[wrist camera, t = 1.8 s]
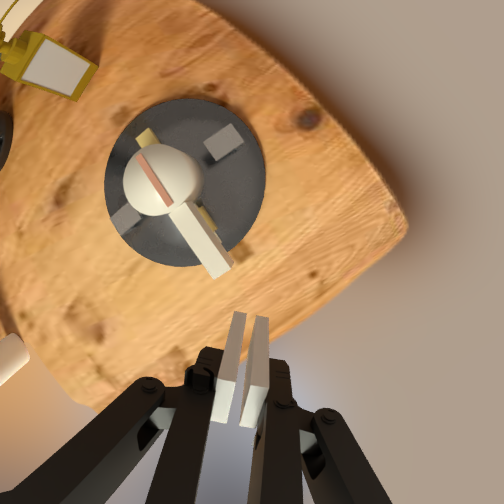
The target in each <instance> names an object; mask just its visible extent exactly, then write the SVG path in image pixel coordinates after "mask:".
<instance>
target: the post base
mask: <svg viewBox="0 0 504 504" xmlns="http://www.w3.org/2000/svg"><path fill="white" fill-rule="evenodd" d="M147 128H150V129H152V131H153V132H154V134H155V135H156V137H157V138H158V140H159V141H160V143H161V144H164V145H168V146H170V147H173V148H175V149H177V150H180V151H182V152H184V153H186V154H189V155H191V156H192V157H194V158H195V159H196V160H197V161H198V162H199V164H200V165H201V167H202V170H203V173H204V187H203V190H202V193H201V195H200V197H199V198H198V199H197V201H196V202H195V203H194V205H195V206H196V208H197V209H198V208H200V207H201V206H203V207H204V208H205V210H206V211H207V212H208V214H209V215H210V217H211V218H212V220H213V221H214V223H215V224H216V226H217V227H218V229H217V230H215V231H214V232H213V233H214V234H215V235H216V237H217V238H218V240H219V241H220V243H221V244H222V246H223V247H224V248H225V250H226V251H227V252H228V251H229V250H231V249H232V248H233V247H235V246H236V245H237V244H238V243H239V242H240V241H241V240H242V239H243V238H244V236H245V235H246V234H247V232H248V231H249V230H250V228H251V227H252V225H253V223H254V222H255V220H256V218H257V215H258V213H259V211H260V208H261V205H262V201H263V197H264V190H265V168H264V161H263V157H262V154H261V150H260V148H259V146H258V143H257V141H256V139H255V138H254V136H253V134H252V133H251V131H250V130H249V128H248V127H247V126H246V125H245V124H244V123H243V121H242V120H240V119H239V118H238V117H237V116H236V115H235V114H233V113H232V112H230V111H229V110H227V109H226V108H224V107H222V106H220V105H217V104H215V103H212V102H209V101H205V100H199V99H177V100H171V101H168V102H164V103H161V104H159V105H156V106H154V107H152V108H150V109H148V110H147V111H145V112H143V113H142V114H141V115H139V116H138V117H137V118H135V119H134V120H133V121H132V122H131V123H130V124H129V125H128V126H127V127H126V128H125V130H124V131H123V132H122V133H121V135H120V136H119V138H118V139H117V141H116V143H115V145H114V147H113V149H112V151H111V153H110V156H109V159H108V162H107V167H106V171H105V180H104V192H105V200H106V205H107V209H108V213H109V215H110V220H111V221H112V223H113V225H114V226H115V228H116V230H117V231H118V233H119V234H120V236H121V237H122V238H123V239H124V241H125V242H126V243H127V244H128V245H129V246H130V247H131V248H133V249H134V250H135V251H136V252H137V253H139V254H141V255H142V256H144V257H145V258H147V259H150V260H152V261H154V262H157V263H160V264H164V265H169V266H175V267H187V266H196V265H200V264H202V263H201V261H200V260H199V258H198V257H197V256H196V254H195V253H194V251H193V250H192V249H191V247H190V246H189V244H188V243H187V241H186V240H185V238H184V237H183V236H182V234H181V233H180V231H179V230H178V228H177V227H176V225H175V224H174V222H173V221H172V219H171V218H170V216H169V215H168V214H170V213H167V214H163V215H158V216H150V215H145V214H143V213H140V212H139V211H137V210H136V209H135V208H134V207H133V206H132V205H131V204H130V203H129V201H128V199H127V198H126V195H125V192H124V187H123V177H124V172H125V169H126V166H127V164H128V162H129V160H130V159H131V158H132V156H133V155H134V154H135V153H136V152H137V151H139V150H140V149H142V148H141V147H140V145H139V143H138V142H137V140H136V139H135V138H137V137H138V136H139V135H140V134H141V133H142V132H144V131H145V130H146V129H147Z"/></svg>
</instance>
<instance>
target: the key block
mask: <svg viewBox="0 0 504 504" xmlns="http://www.w3.org/2000/svg"><path fill="white" fill-rule="evenodd" d="M135 139H136V140H137V142H138V143H139V145H140V147H141V148H142V149H140V150H139V151H137V152H136V153H135V154H134V155H133V156H132V158H131V159H130V160H129V162H128V164H127V166H126V169H125V172H124V177H123V187H124V192H125V195H126V198H127V199H128V201H129V203H130V204H131V205H132V206H133V207H134V208H135V209H136V210H137V211H139V212H140V213H143V214H145V215H150V216H158V215H163V214H167V213H170V214H168V215H169V216H170V218H171V219H172V221H173V222H174V224H175V225H176V227H177V228H178V230H179V231H180V233H181V234H182V236H183V237H184V238H185V240H186V241H187V243H188V244H189V246H190V247H191V249H192V250H193V251H194V253H195V254H196V256H197V257H198V258H199V260H200V261H201V263H202V264H203V266H204V267H205V268H206V270H207V271H208V273H209V274H210V275H211V277H212V278H213V279H216V278H218V277H219V276H221V275H222V274H224V273H225V272H227V271H228V270H230V269H231V268H232V265H233V263H234V261H233V260H232V258H231V257H230V256H229V254H228V253H227V251H226V250H225V248H224V247H223V246H222V244H221V243H220V241H219V240H218V238H217V237H216V235H215V234H214V233H213V232H214V231H215V230H217V229H218V227H217V226H216V224H215V223H214V221H213V220H212V218H211V217H210V215H209V214H208V212H207V211H206V210H205V208H204V207H203V206H201V207H200V208H198V209H197V208H196V206H195V205H194V203H195V202H196V201H197V199H198V198H199V197H200V195H201V193H202V190H203V187H204V173H203V170H202V167H201V165H200V164H199V162H198V161H197V160H196V159H195V158H194V157H192V156H191V155H189V154H186V153H184V152H182V151H180V150H177V149H175V148H173V147H170V146H168V145H164V144H161V143H160V141H159V140H158V138H157V137H156V135H155V134H154V132H153V131H152V129H150V128H147V129H146V130H145V131H144V132H142V133H141V134H140V135H139V136H138V137H137V138H135Z"/></svg>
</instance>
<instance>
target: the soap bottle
mask: <svg viewBox="0 0 504 504" xmlns="http://www.w3.org/2000/svg"><path fill="white" fill-rule="evenodd" d="M17 2H18V0H15V2H14V3H13V4H12V5H11V6H10V8H9V9H8V10H7V11H6V13H5V14H4V16H3V17H2V19H1V20H0V53H2V54H1V61H3V62H5V63H4V65H3V67H2V68H1V70H0V73H2V74H4V75H5V76H7V77H9V78H11V79H13V80H14V81H17V82H20V83H23V84H26V85H29V86H33V87H36V88H39V89H42V90H44V91H47V92H50V93H53V94H56V95H59V96H62V97H64V98H67V99H70V100H72V101H75V102H77V101H78V99H79V97H80V96H81V94H82V92H83V91H84V89H85V87H86V86H87V84H88V83H89V81H90V80H91V78H92V76H93V75H94V73H95V72H96V70H97V69H98V66H97V65H95V64H94V63H92V62H91V61H89V60H87V59H86V58H84V57H82V56H81V55H79V54H78V53H76V52H74V51H73V50H71V49H69V48H67V47H66V46H64V45H62V44H61V43H59V42H57V41H55V40H54V39H52V38H50V37H48V36H47V35H45V34H42V33H37V32H32V31H27V30H24V32H23V33H22V35H21V36H20V38H19V39H17V38H13V39H11V40H10V41H9V42H5V41H3V40H4V38H5V32H3V31H2V27H3V26H2V24H1V23H2V21H3V20H4V18H5V17H6V15H7V14H8V13H9V11H10V10H11V9H12V7H13V6H14V5H15V4H16V3H17Z"/></svg>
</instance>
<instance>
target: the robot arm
mask: <svg viewBox="0 0 504 504" xmlns="http://www.w3.org/2000/svg"><path fill="white" fill-rule="evenodd" d="M1 54H2V53H0V60H1ZM12 132H13V125H12V119H11V116H10V114H9V113H8V112H6V111H0V171H1V169H2V167H3V166H4V164H5V162H6V159H7V156H8V153H9V150H10V146H11V141H12ZM246 315H247V313H242V312H237V311H234V314H233V318H232V322H231V326H230V330H229V334H228V338H227V342H226V346H225V350H221V349H216V348H212V347H207V346H206V347H205V348H203V349H202V350H201V351H200V353H199V356H198V358H197V361H196V363H195V365H192V366H190V367H188V368H187V369H186V370H185V379H184V385H182V386H178V387H165V386H164V384H163V383H162V382H161V381H160V380H158V379H156V378H153V377H142V378H139V379H137V380H136V381H135V382H134V383H133V384H131V385H130V386H129V387H128V388H127V389H126V390H125V391H124V392H123V393H122V394H121V395H119V396H118V397H117V398H116V399H115V400H114V401H113V402H112V403H111V404H109V405H108V406H107V407H106V408H105V409H104V410H103V411H102V412H101V413H100V414H98V415H97V416H96V417H95V418H94V419H93V420H92V421H91V422H89V423H88V424H87V425H86V426H85V427H84V428H83V429H82V430H81V431H79V432H78V433H77V434H76V435H75V436H74V437H73V438H72V439H70V440H69V441H68V442H67V443H66V444H65V445H64V446H62V447H61V448H60V449H59V450H58V451H57V452H56V453H54V454H53V455H52V456H51V457H50V458H49V459H48V460H47V461H45V462H44V463H43V464H42V465H41V466H40V467H38V468H37V469H36V470H35V471H34V472H33V473H31V474H30V475H29V476H28V477H27V478H26V479H24V480H23V481H22V482H21V483H20V484H19V485H17V486H16V487H15V488H14V489H13V490H11V491H6V492H2V493H0V504H105V502H106V501H107V500H108V499H109V498H110V496H111V495H112V494H113V493H114V492H115V491H116V489H117V488H118V487H119V486H120V485H121V483H122V482H123V481H124V480H125V478H126V477H127V476H128V475H129V474H130V472H131V471H132V470H133V469H134V467H135V466H136V465H137V464H138V462H139V461H140V460H141V459H142V457H143V456H144V455H145V454H146V452H147V451H148V450H149V449H150V447H151V446H152V445H153V444H154V442H155V441H156V439H157V438H158V437H159V436H160V435H161V433H162V432H163V430H164V429H169V431H168V434H167V437H166V440H165V443H164V446H163V449H162V452H161V455H160V458H159V461H158V464H157V467H156V470H155V474H154V477H153V480H152V483H151V487H150V490H149V492H148V496H147V499H146V502H145V504H195V501H196V496H197V490H198V485H199V478H200V474H201V468H202V463H203V457H204V452H205V446H206V441H207V436H208V430H209V424H210V420H212V421H216V422H221V423H227V419H228V414H229V410H230V406H231V402H232V397H233V393H234V388H235V384H236V378H237V372H238V366H239V360H240V353H241V347H242V341H243V334H244V328H245V321H246ZM257 423H258V424H257ZM239 426H243V427H250V428H256V426H257V432H256V435H255V437H254V440H253V443H252V446H254V448H253V457H252V466H251V476H250V484H249V492H248V501H247V504H303V486H302V471H303V474H304V476H305V479H306V482H307V484H308V487H309V490H310V493H311V495H312V498H313V501H314V503H315V504H392V502H391V501H390V499H389V497H388V495H387V493H386V492H385V490H384V488H383V487H382V485H381V483H380V481H379V480H378V478H377V476H376V474H375V473H374V471H373V469H372V468H371V466H370V464H369V462H368V460H367V459H366V457H365V455H364V454H363V452H362V450H361V448H360V446H359V445H358V443H357V441H356V440H355V438H354V436H353V434H352V433H351V431H350V429H349V427H348V426H347V424H346V422H345V420H344V419H343V417H342V415H341V414H340V413H339V412H337V411H336V410H333V409H330V408H322V409H319V410H317V411H316V412H315V413H313V412H309V411H307V410H304V409H302V408H300V407H299V406H298V405H297V402H296V401H295V400H294V398H293V397H292V388H291V379H290V371H289V366H288V365H287V363H286V362H285V360H278V359H272V358H269V318H267V317H262V316H257V315H256V319H255V323H254V328H253V332H252V336H251V341H250V345H249V349H248V356H247V365H246V373H245V382H244V390H243V399H242V407H241V415H240V425H239Z"/></svg>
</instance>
